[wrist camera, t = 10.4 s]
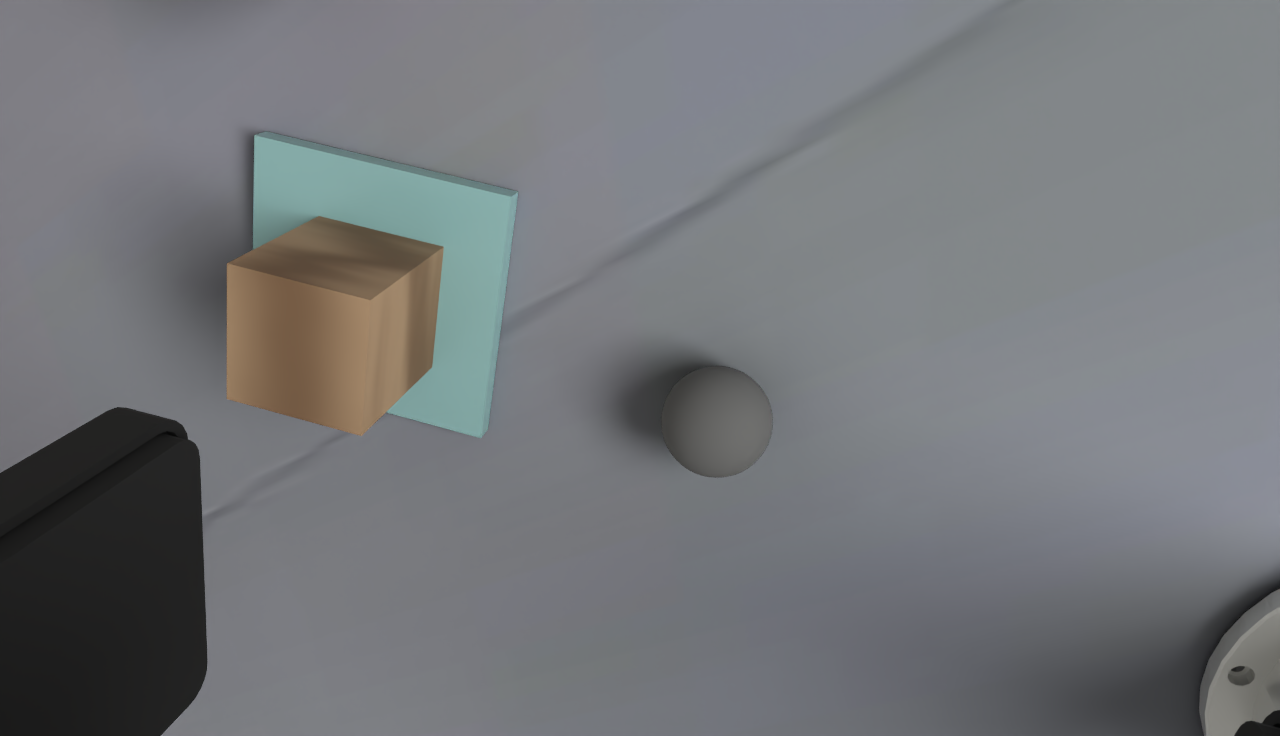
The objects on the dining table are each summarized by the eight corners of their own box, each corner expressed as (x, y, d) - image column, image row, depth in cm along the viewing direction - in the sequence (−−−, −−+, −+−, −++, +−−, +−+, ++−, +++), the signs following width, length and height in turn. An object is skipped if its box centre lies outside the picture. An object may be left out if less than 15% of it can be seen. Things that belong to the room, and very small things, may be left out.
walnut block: (444, 246, 38) (370, 300, 33) (432, 367, 40) (361, 435, 35) (319, 216, 39) (226, 263, 33) (314, 336, 41) (226, 398, 36)
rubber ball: (789, 364, 38) (778, 410, 34) (764, 457, 40) (752, 510, 36) (683, 337, 38) (662, 381, 35) (664, 430, 40) (641, 480, 36)
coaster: (518, 191, 38) (511, 196, 37) (488, 429, 42) (480, 438, 41) (266, 131, 39) (254, 135, 38) (261, 368, 43) (250, 375, 42)
